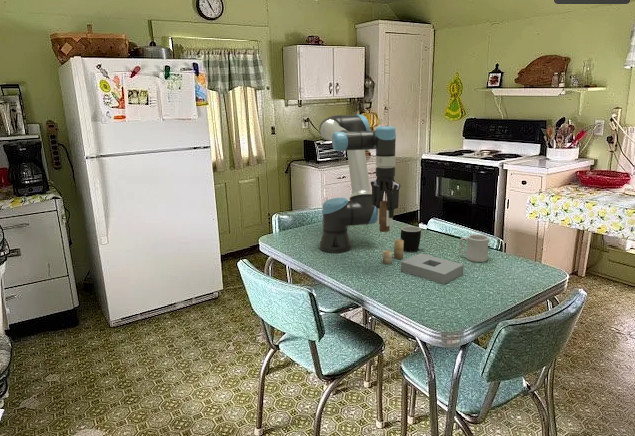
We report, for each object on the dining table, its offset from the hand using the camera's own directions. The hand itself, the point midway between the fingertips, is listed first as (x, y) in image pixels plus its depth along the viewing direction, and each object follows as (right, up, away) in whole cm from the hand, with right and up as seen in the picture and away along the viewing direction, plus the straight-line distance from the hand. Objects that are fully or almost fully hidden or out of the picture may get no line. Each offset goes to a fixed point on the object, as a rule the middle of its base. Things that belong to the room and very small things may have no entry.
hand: (384, 224), depth 185 cm
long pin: (0, -3, +1) cm, 3 cm away
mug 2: (+40, -15, +14) cm, 46 cm away
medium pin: (+9, -15, +17) cm, 24 cm away
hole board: (+19, -19, 0) cm, 27 cm away
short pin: (+3, -17, +12) cm, 21 cm away
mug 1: (+15, -12, +29) cm, 35 cm away
